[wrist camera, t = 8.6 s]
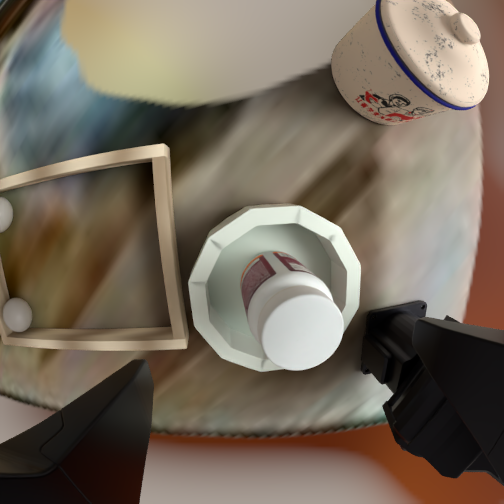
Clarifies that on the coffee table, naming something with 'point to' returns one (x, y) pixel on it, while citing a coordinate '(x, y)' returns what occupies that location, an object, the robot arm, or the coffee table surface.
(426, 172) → the coffee table surface
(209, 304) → the bowl
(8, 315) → the pebble
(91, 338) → the tray
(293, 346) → the pill bottle
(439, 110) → the teacup with lid
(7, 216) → the pebble
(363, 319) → the coffee table surface
